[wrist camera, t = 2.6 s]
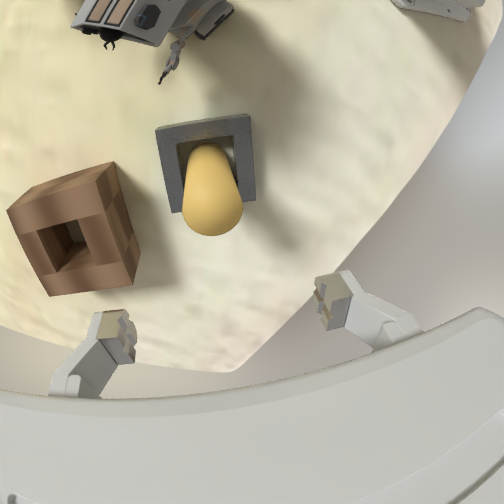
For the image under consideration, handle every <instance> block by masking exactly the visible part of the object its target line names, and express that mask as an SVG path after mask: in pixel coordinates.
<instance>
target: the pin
mask: <svg viewBox="0 0 504 504" xmlns="http://www.w3.org/2000/svg"><path fill="white" fill-rule="evenodd" d="M242 211H243V204H242V200H241V197H240V194H239V191H238V188H237V186H236V183H235V180H234V177H233V174H232V171H231V169H230V166H229V163H228V160H227V157H226V154H225V152H224V150H223V149H222V148H221V147H220V146H219V145H217V144H215V143H211V142H205V143H201V144H199V145H197V146H196V147H194V148H193V149H192V151H191V152H190V154H189V158H188V165H187V173H186V181H185V189H184V197H183V207H182V212H183V217H184V220H185V222H186V223H187V225H188V226H189V227H190V228H191V229H192V230H194V231H195V232H197V233H199V234H202V235H206V236H217V235H221V234H224V233H226V232H228V231H230V230H231V229H232V228H234V227H235V226H236V225H237V223H238V222H239V220H240V218H241V216H242Z"/></svg>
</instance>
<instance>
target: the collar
mask: <svg viewBox="0 0 504 504" xmlns="http://www.w3.org/2000/svg"><path fill="white" fill-rule="evenodd" d="M155 133H156V139H157V144H158V150H159V155H160V160H161V165H162V171H163V175H164V180H165V185H166V190H167V194H168V199H169V203H170V208H171V212H172V213H177V212H182V207H183V197H184V189H185V184H184V179H183V173H182V168H181V162H180V156H179V150H178V144H177V143H182V142H188V141H194V140H200V139H207V138H214V137H221V136H229V135H232V144H233V154H234V164H235V174H236V181H235V183H236V186H237V188H238V191H239V194H240V197H241V200H242V202H247V201H254V200H256V193H255V179H254V165H253V152H252V138H251V125H250V116H249V115H247V114H242V115H232V116H224V117H216V118H208V119H202V120H195V121H189V122H183V123H178V124H172V125H167V126H162V127H158V128H157V129H156V130H155Z"/></svg>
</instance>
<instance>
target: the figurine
mask: <svg viewBox="0 0 504 504" xmlns="http://www.w3.org/2000/svg"><path fill="white" fill-rule="evenodd" d="M233 12H234V10H233V6H232V5H231V4H229V3H228V2H226V0H85V2H84V3H83V5H82V7H81V8H80V10H79V12H78V14H76V13H75V15H76V17H75V19H74V21H73V23H72V25H71V28H74V29H77V30H80V31H82V33H84V34H88V35H91V33H93V34H100V37H101V38H102V39H103V40H104V41H107V42H106V43H105V44H104V45H103V46H104V47H105V48H106V49H107V47H106V45H107V44H108V43H110V42H111V43H112V45H113V50H114V48H115V44H114V41H117V40H119V39H125V40H130V41H134V42H138V43H142V44H146V45H150V46H153V47H158V46H160V45H161V43H162V41H163V39H164V37H165V36H166V34H167V32H171V33H173V34H174V35H176V36H177V37H178V36H179V37H181V38H180V39H179V40H177V41H176V42H174V43H172V44H171V46H170V48H171V50H172V52H171V55H170V57H169V58H168V60H167V63H166V69H165V70H164V72H163V74H162V76H161V77H160V81H159V83H158V84H161V81H162V79H163V78H164V77H165V76H166V75H167V74H169V72H170V71H171V69H172V70H173V71H174V70H175V69H176V68H177V66H178V63H179V55H180V52H181V48H183V47H184V46H185V42H184V40H186V39H187V38H188V37H189V36H190V35H191V34H192V33H193V31H194V30H195V29H197V30H196V31H195V33H194V34H195V35H196V36H198V37H199V38H200V39H202V40H203V41H204V40H205V39H206V38H207V37H208V36H209V35H210V34H211V33H212V32H213V31H214V30H215V29H216V28H217V27H218V26H219V25H220V24H221V23H222V22H223V21H224V20H225V19H227V18H228V17H229V16H230V15H231V14H232V13H233ZM113 50H112V51H113Z"/></svg>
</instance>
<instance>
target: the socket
mask: <svg viewBox="0 0 504 504" xmlns="http://www.w3.org/2000/svg"><path fill="white" fill-rule="evenodd" d="M6 211H7V214H8V216H9V219H10V221H11V223H12V226H13V228H14V230H15V233H16V235H17V237H18V239H19V241H20V243H21V246H22V248H23V250H24V252H25V254H26V256H27V258H28V260H29V262H30V263H31V265H32V267H33V269H34V271H35V273H36V275H37V276H38V278H39V280H40V282H41V283H42V285H43V287H44V289H45V290H46V292H47V294H48V295H49V297H51V296H59V295H66V294H73V293H81V292H88V291H95V290H102V289H109V288H116V287H123V286H130V285H133V282H134V278H135V273H136V269H137V265H138V261H139V257H140V250H139V247H138V244H137V241H136V238H135V235H134V232H133V229H132V226H131V223H130V219H129V216H128V213H127V210H126V206H125V203H124V199H123V196H122V192H121V189H120V185H119V181H118V177H117V173H116V169H115V165H114V161H113V162H109V163H105V164H102V165H98V166H94V167H91V168H88V169H84V170H81V171H78V172H75V173H71V174H68V175H65V176H62V177H59V178H56V179H53V180H51V181H48V182H45V183H42V184H40V185H37V186H34V187H32V188H30V189H29V190H28V191H27V192H26V193H24V194H23V195H22V196H21V197H20V198H19V199H18V200H17V201H16V202H15V203H13V204H12V205H11V206H10V207H9V208H8V209H7V210H6ZM76 219H77V220H78V223H79V226H80V228H81V231H82V233H83V236H84V238H85V241H82V242H78V243H73V242H72V240H71V237H70V235H69V232H68V230H67V227H66V225H65V222H68V221H72V220H76Z"/></svg>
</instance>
